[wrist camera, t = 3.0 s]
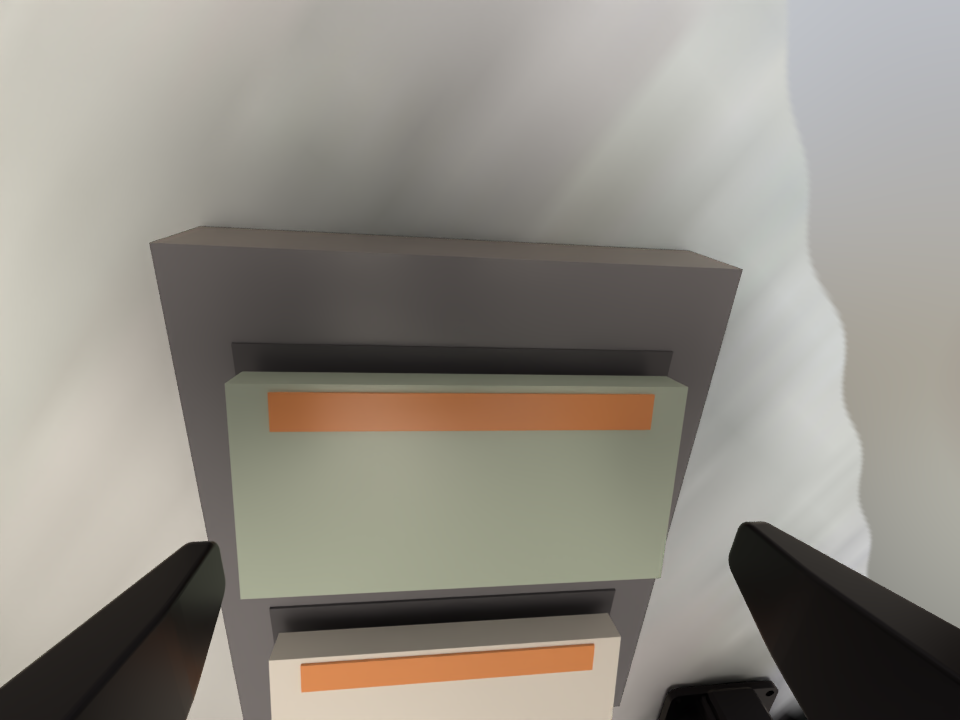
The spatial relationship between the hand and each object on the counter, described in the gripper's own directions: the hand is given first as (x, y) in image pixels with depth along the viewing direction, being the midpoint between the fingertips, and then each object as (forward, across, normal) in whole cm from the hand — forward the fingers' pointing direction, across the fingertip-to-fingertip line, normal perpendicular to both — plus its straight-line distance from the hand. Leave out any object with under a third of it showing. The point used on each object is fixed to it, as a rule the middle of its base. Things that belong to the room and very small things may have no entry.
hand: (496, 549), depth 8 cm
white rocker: (+6, 0, +13) cm, 14 cm away
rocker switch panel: (+10, 0, +6) cm, 12 cm away
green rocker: (+6, 0, +3) cm, 7 cm away
